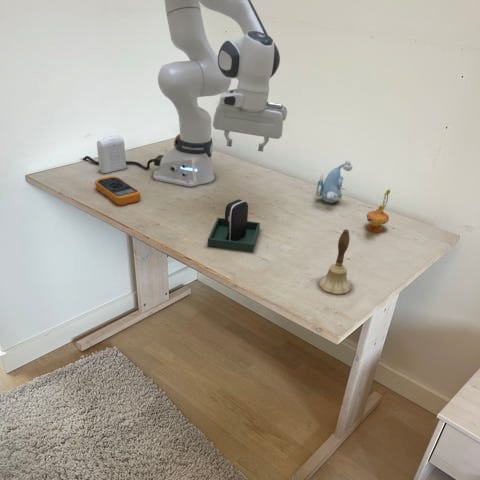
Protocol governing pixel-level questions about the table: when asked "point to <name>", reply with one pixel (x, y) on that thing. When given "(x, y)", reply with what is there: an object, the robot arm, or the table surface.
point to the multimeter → (117, 190)
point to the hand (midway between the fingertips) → (244, 148)
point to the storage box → (242, 244)
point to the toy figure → (332, 184)
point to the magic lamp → (378, 217)
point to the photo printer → (111, 154)
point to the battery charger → (236, 219)
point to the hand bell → (337, 270)
